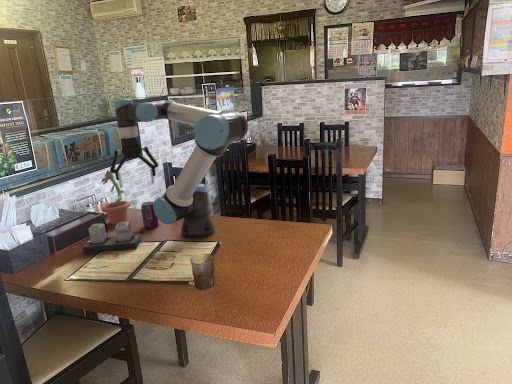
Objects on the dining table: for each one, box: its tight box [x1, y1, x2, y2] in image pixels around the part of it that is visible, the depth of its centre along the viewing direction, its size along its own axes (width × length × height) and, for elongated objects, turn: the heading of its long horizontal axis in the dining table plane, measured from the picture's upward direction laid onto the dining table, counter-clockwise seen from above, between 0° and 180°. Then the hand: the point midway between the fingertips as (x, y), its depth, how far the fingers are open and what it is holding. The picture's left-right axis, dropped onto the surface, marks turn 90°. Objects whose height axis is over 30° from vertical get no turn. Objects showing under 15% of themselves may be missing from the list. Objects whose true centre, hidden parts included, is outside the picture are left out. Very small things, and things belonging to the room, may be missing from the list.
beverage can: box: [140, 201, 160, 229], centre depth 189 cm, size 7×7×12 cm
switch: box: [81, 222, 142, 255], centre depth 168 cm, size 22×10×11 cm, turn 93°
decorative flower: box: [101, 166, 131, 225], centre depth 198 cm, size 15×14×30 cm
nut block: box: [115, 220, 133, 243], centre depth 168 cm, size 5×5×11 cm
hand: (137, 185), depth 171 cm, fingers open, 13 cm apart
